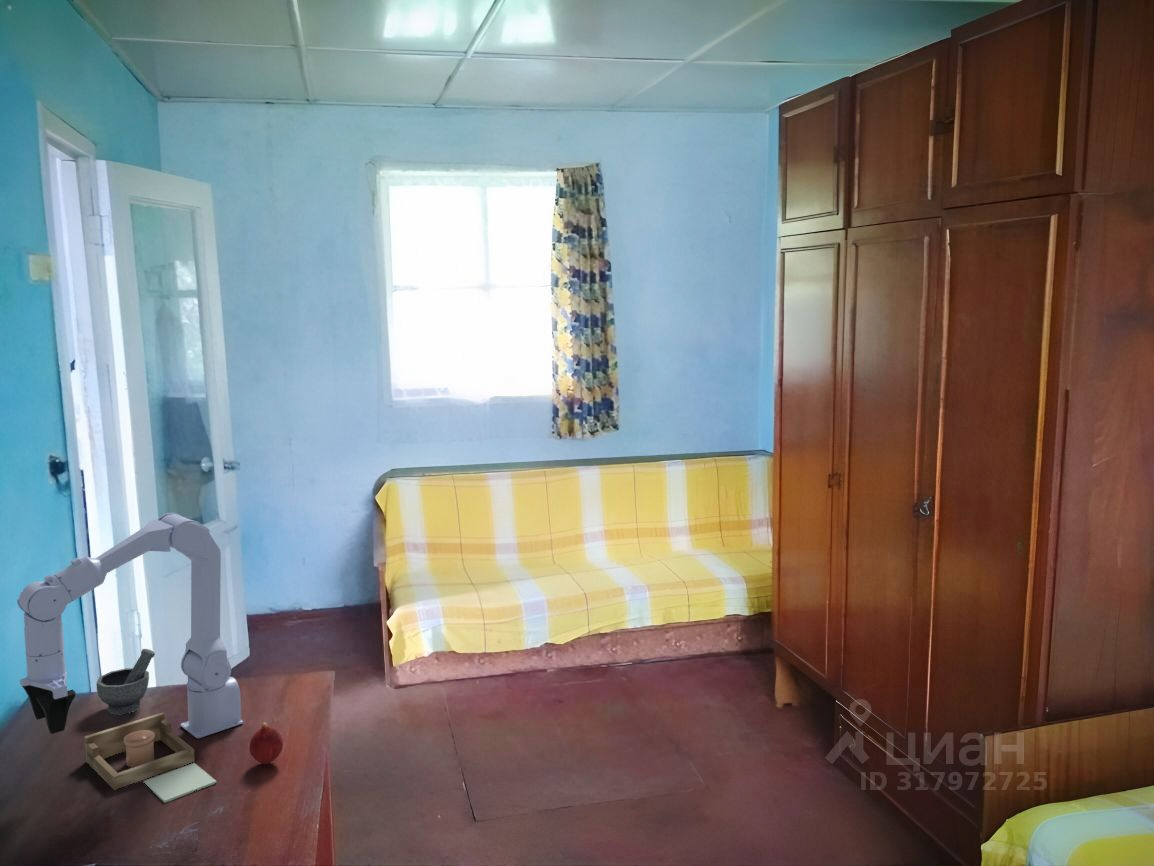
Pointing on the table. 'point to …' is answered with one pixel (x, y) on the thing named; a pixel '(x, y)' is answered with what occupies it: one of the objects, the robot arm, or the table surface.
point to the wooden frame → (113, 743)
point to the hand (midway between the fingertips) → (50, 724)
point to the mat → (179, 782)
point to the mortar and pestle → (125, 686)
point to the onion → (266, 744)
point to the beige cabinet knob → (139, 748)
